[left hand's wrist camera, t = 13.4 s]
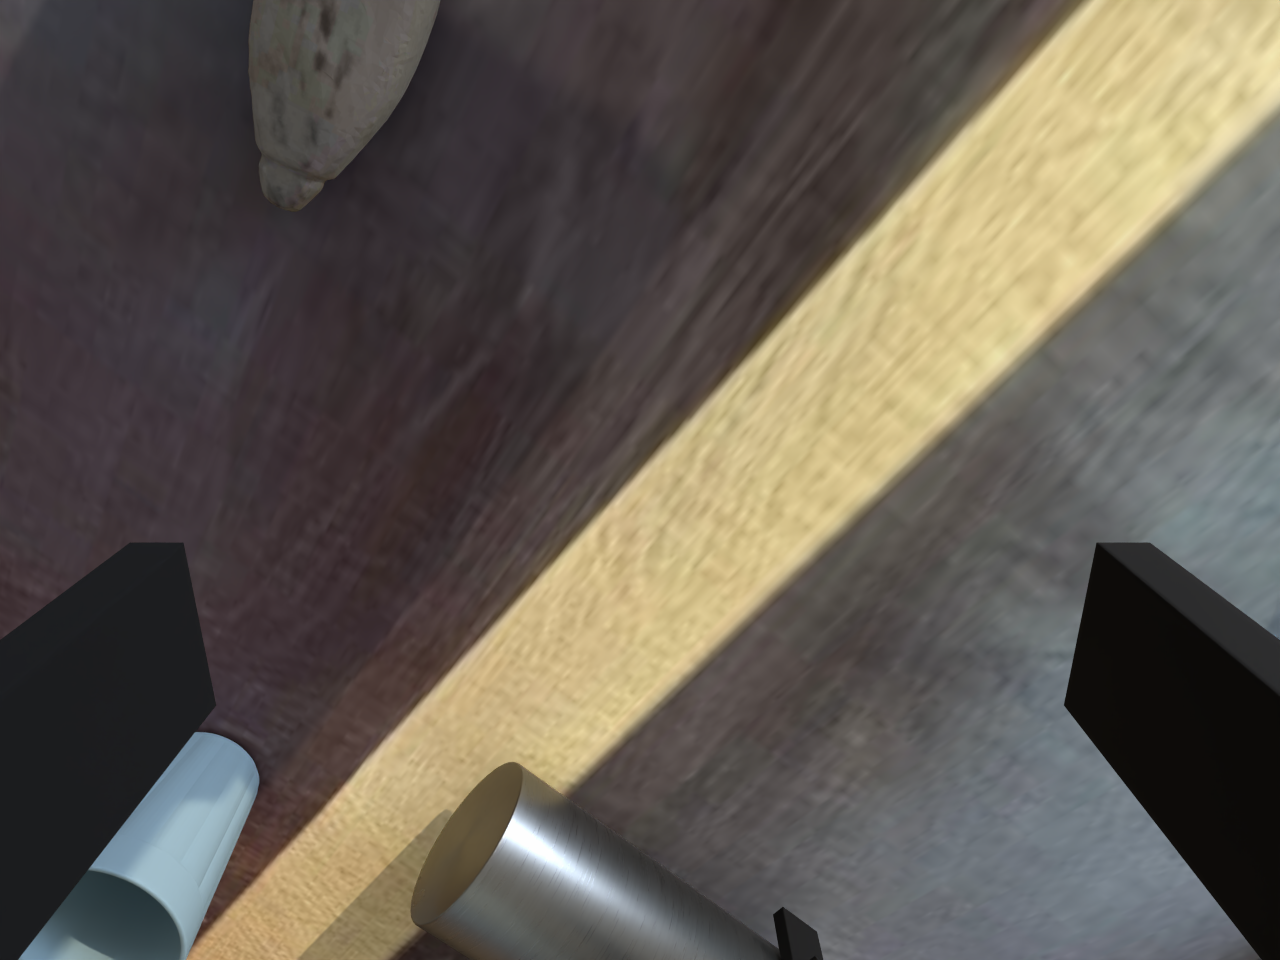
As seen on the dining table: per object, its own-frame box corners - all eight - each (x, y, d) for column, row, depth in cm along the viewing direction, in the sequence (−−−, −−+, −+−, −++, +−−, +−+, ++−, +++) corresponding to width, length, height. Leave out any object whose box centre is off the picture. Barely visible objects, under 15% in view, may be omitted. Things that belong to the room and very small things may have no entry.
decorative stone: (227, 175, 36) (186, 177, 33) (343, -241, 31) (309, -287, 28) (367, 239, 37) (341, 247, 34) (503, -155, 32) (487, -190, 29)
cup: (121, 711, 45) (-22, 866, 35) (269, 712, 45) (167, 866, 35) (149, 828, 48) (23, 1002, 38) (289, 828, 48) (199, 1002, 38)
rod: (432, 827, 46) (391, 961, 39) (531, 731, 44) (508, 853, 37) (728, 1025, 52) (744, 1179, 44) (829, 948, 49) (865, 1095, 42)
